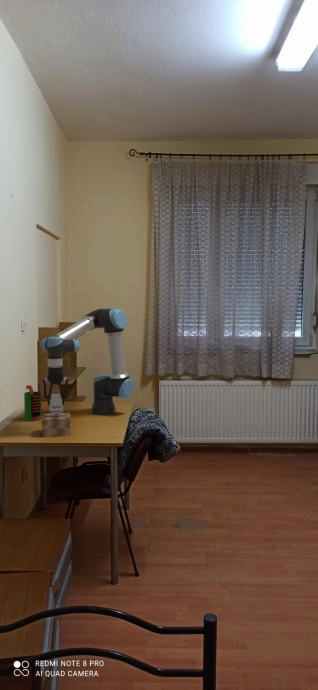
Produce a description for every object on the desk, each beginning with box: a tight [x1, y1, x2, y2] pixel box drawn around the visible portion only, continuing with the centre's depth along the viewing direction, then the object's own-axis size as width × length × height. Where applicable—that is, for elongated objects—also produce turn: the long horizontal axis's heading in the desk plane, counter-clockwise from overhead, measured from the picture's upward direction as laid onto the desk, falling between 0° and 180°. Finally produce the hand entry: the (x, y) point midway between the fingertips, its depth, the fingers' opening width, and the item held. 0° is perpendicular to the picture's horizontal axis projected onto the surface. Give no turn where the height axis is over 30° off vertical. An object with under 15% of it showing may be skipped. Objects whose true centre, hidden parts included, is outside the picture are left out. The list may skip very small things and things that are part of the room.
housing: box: [41, 412, 71, 438], centre depth 269 cm, size 14×14×10 cm
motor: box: [23, 384, 42, 422], centre depth 301 cm, size 10×9×20 cm
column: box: [50, 393, 61, 417], centre depth 269 cm, size 5×5×20 cm
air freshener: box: [48, 396, 68, 414], centre depth 317 cm, size 11×8×10 cm
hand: (56, 410), depth 269 cm, fingers closed on column, 5 cm apart
